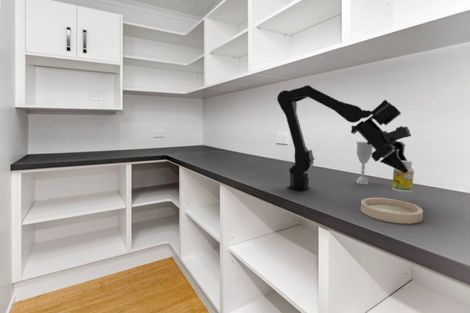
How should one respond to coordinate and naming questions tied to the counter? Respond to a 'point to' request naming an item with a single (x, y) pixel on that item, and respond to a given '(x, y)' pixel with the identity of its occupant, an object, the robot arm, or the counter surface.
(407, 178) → the supplement bottle
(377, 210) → the round tray
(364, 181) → the chalice
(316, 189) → the counter surface
